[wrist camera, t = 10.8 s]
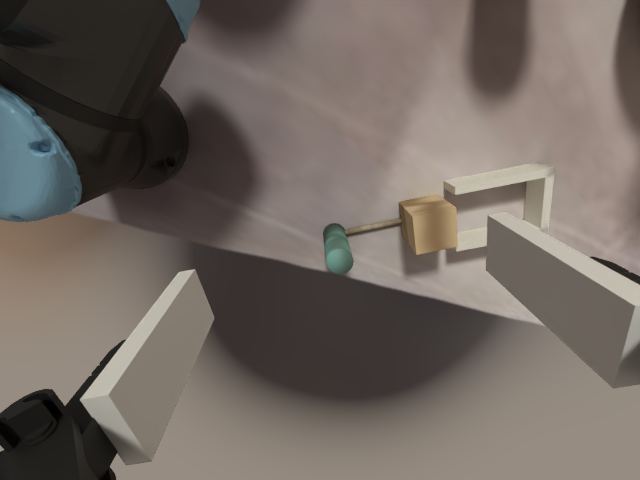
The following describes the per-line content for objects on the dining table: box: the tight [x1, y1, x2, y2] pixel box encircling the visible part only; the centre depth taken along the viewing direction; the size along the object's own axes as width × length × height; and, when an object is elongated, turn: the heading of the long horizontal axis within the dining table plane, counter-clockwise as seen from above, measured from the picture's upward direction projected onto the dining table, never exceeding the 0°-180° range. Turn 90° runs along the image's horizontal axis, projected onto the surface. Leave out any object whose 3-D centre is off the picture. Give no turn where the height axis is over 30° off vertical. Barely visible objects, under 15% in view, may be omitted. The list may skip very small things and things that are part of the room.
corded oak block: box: [323, 194, 458, 274], centre depth 46 cm, size 19×6×10 cm, turn 102°
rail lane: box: [444, 163, 555, 252], centre depth 48 cm, size 14×10×4 cm
